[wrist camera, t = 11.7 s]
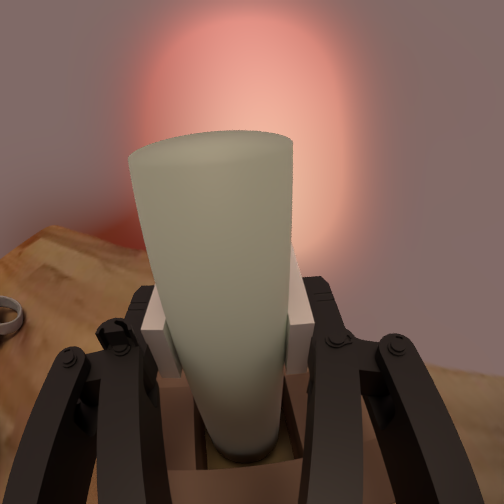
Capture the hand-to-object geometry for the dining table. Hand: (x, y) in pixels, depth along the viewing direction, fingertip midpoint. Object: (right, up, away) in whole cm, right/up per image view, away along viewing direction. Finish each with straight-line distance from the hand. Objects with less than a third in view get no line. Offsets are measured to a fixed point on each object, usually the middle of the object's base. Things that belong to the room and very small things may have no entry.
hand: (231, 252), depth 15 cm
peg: (+1, -11, 0) cm, 11 cm away
